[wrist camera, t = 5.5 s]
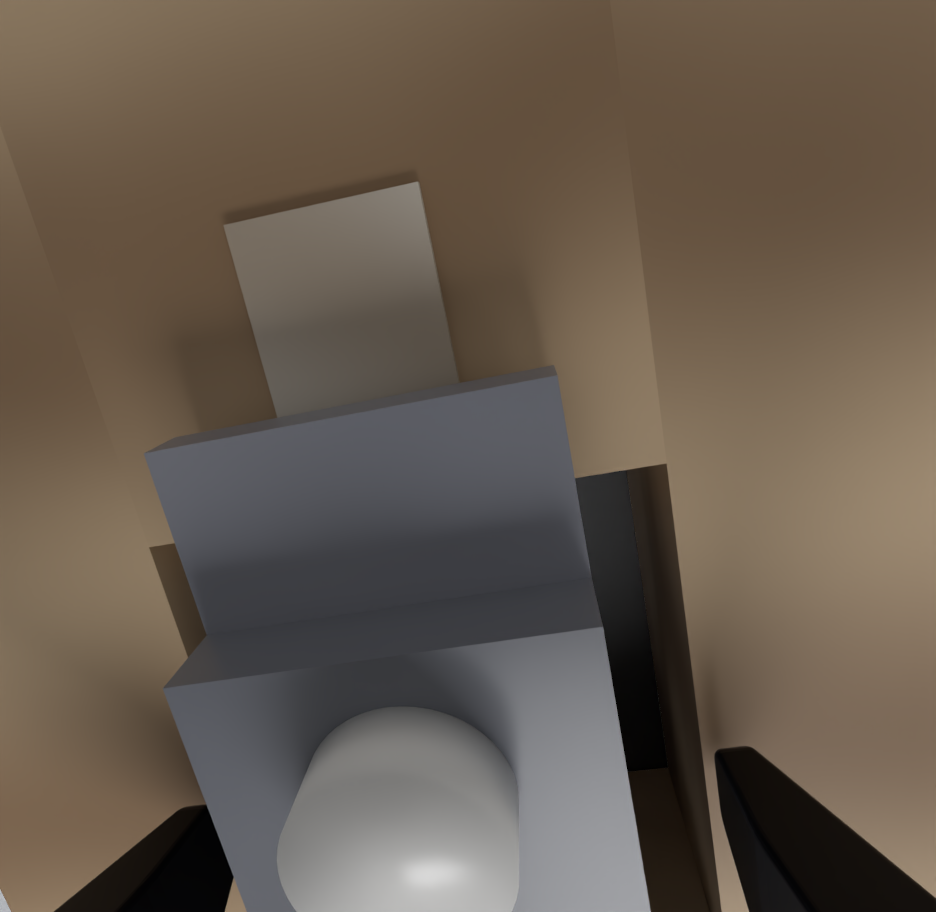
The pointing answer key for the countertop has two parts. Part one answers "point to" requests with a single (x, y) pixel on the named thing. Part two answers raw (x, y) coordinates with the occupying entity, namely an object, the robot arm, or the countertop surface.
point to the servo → (401, 658)
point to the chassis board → (482, 358)
